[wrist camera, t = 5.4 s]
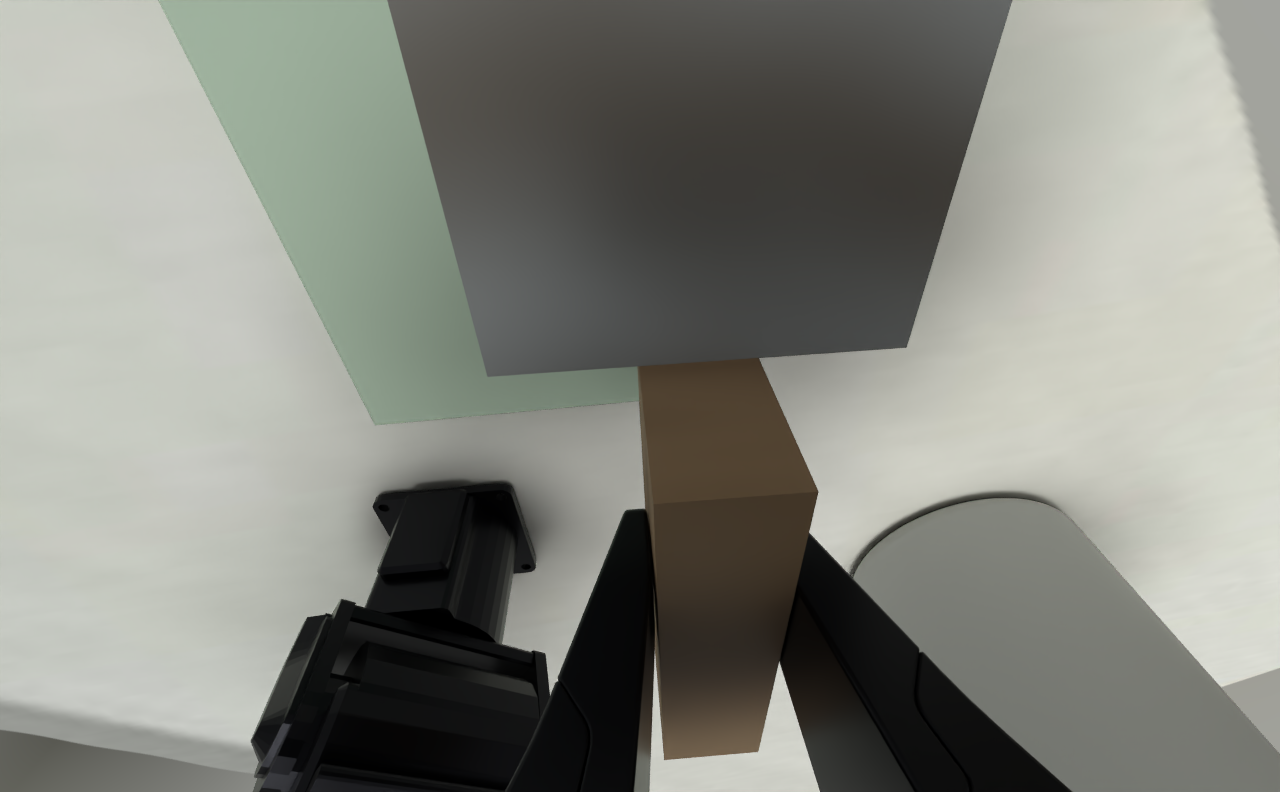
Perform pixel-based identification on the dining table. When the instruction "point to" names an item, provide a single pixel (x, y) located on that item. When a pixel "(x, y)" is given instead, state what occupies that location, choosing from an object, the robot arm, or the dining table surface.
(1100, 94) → the dining table surface
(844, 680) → the robot arm
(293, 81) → the mat
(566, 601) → the dining table surface
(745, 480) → the spatula
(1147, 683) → the cylinder vase
